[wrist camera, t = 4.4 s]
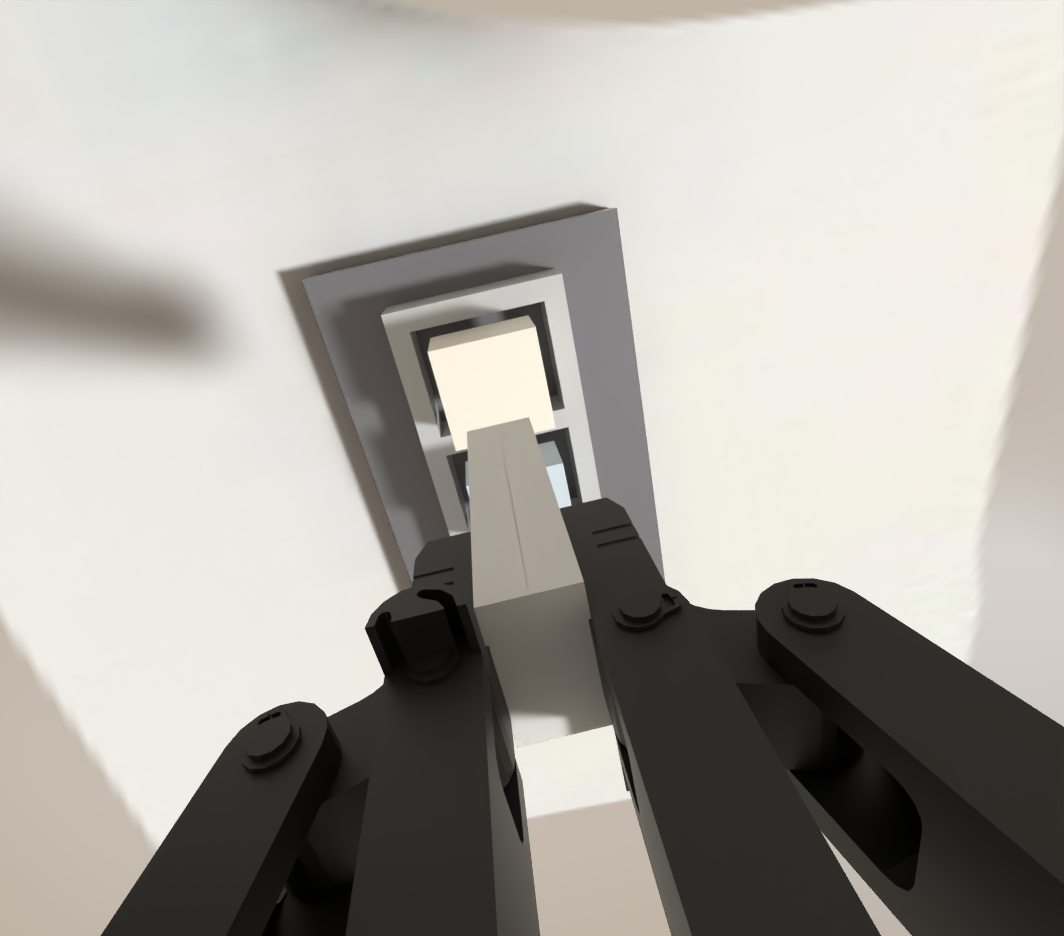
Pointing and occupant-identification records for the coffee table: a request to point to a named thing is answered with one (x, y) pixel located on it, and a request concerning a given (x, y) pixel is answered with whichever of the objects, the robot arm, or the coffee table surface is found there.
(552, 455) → the key blue
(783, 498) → the coffee table surface
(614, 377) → the keypad
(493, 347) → the key ivory
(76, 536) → the coffee table surface
